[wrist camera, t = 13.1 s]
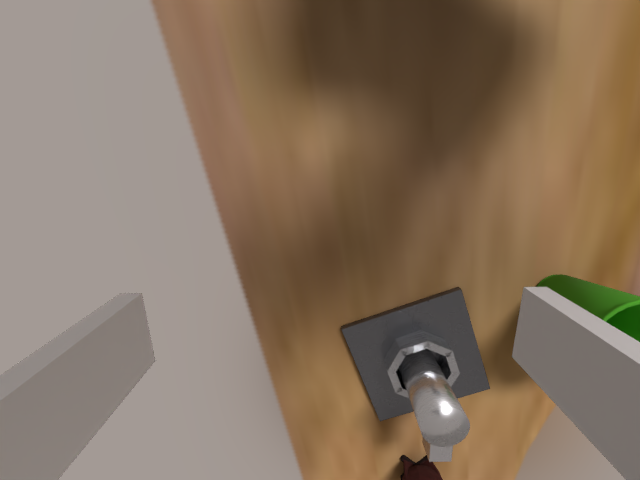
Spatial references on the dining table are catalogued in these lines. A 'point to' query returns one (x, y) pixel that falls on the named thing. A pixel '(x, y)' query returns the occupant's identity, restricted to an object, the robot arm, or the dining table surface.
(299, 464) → the dining table surface
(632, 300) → the cup
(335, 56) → the dining table surface
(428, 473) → the mate gourd
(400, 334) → the duct flange
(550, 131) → the dining table surface
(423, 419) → the elbow
